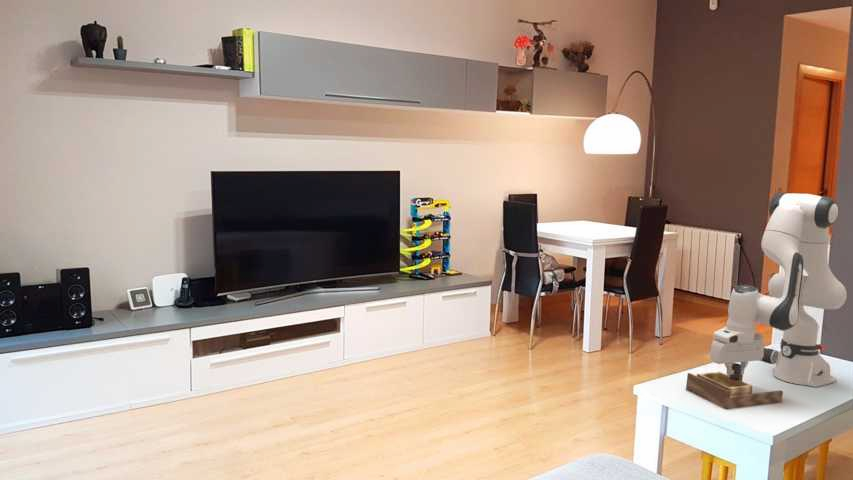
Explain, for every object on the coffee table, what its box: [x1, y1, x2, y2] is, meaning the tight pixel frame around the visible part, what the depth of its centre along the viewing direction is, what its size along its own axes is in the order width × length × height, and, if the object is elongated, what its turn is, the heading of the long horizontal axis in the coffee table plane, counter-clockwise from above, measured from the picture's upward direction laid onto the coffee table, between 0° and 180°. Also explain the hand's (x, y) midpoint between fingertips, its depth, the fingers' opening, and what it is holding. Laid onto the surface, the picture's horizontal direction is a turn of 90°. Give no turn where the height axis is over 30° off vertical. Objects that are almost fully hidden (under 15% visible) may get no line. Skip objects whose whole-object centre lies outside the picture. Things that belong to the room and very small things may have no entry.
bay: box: [685, 372, 784, 410], centre depth 236 cm, size 24×18×7 cm
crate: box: [696, 362, 753, 396], centre depth 234 cm, size 11×14×11 cm
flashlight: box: [761, 347, 779, 364], centre depth 286 cm, size 15×5×5 cm, turn 35°
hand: (735, 374), depth 235 cm, fingers closed on crate, 3 cm apart
